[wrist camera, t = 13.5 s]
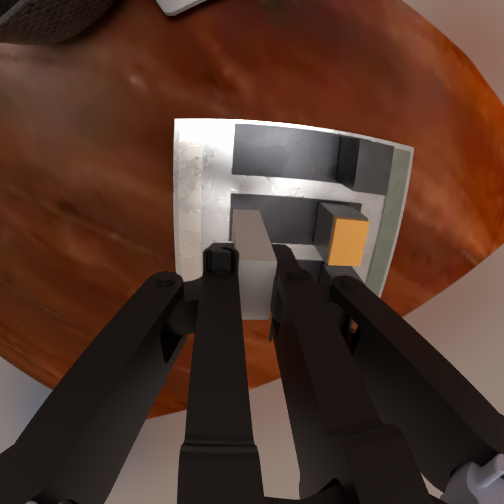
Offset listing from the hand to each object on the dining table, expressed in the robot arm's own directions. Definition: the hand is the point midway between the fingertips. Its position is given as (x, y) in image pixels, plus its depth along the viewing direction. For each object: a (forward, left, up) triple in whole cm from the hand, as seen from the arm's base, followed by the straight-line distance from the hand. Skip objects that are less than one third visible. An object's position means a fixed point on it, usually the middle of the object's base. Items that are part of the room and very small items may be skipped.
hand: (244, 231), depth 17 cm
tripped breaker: (+8, -2, -8) cm, 11 cm away
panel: (+5, -2, -10) cm, 11 cm away
